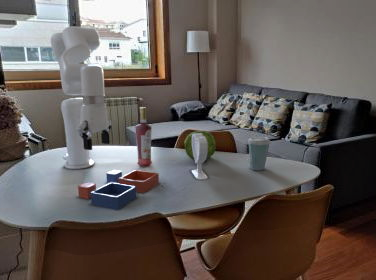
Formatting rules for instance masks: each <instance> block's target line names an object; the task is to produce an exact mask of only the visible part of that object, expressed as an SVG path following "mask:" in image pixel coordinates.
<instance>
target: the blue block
mask: <svg viewBox="0 0 376 280" xmlns="http://www.w3.org/2000/svg"><path fill="white" fill-rule="evenodd" d="M105 174H106V183H107V184H108V183H110V182H112V183H118V184H119V178H120V177H122V176H123V171H122V170H116V169H112V170H110V171H108V172H106V173H105Z"/></svg>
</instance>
